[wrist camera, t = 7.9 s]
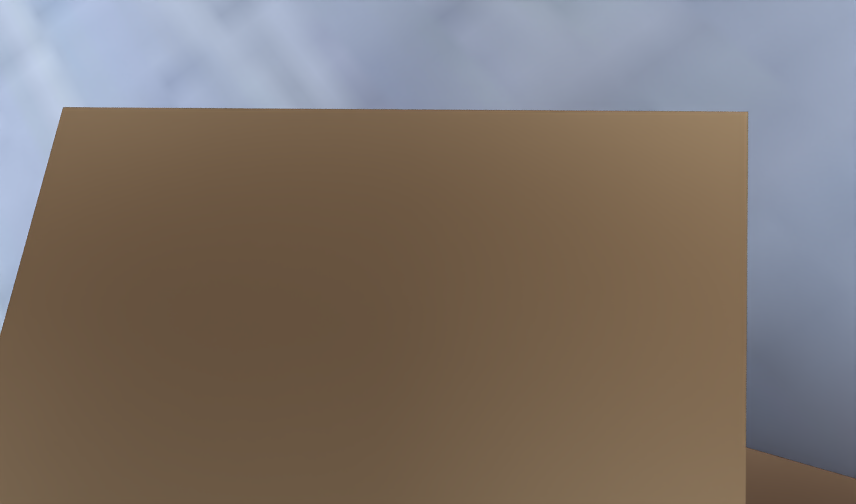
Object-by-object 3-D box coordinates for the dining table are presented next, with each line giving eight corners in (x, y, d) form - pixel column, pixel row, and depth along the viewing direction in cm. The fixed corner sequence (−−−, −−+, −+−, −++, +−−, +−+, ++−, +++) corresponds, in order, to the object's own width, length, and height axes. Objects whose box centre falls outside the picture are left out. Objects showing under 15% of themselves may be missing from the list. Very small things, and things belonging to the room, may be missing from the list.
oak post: (635, 624, 14) (743, 1134, 3) (408, 586, 15) (-144, 855, 4) (645, 386, 15) (747, 113, 4) (434, 367, 16) (62, 107, 5)
